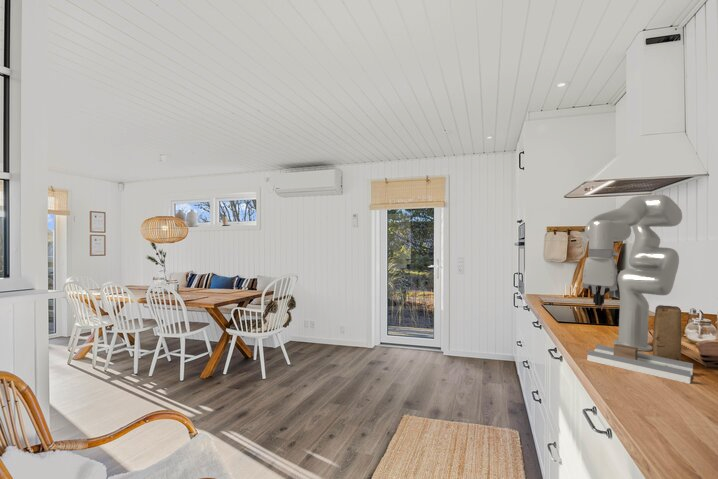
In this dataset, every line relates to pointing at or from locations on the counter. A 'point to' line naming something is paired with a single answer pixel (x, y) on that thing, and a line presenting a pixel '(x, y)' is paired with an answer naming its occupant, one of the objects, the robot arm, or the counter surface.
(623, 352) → the walnut block
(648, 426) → the counter surface
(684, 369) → the board
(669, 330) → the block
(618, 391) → the counter surface
